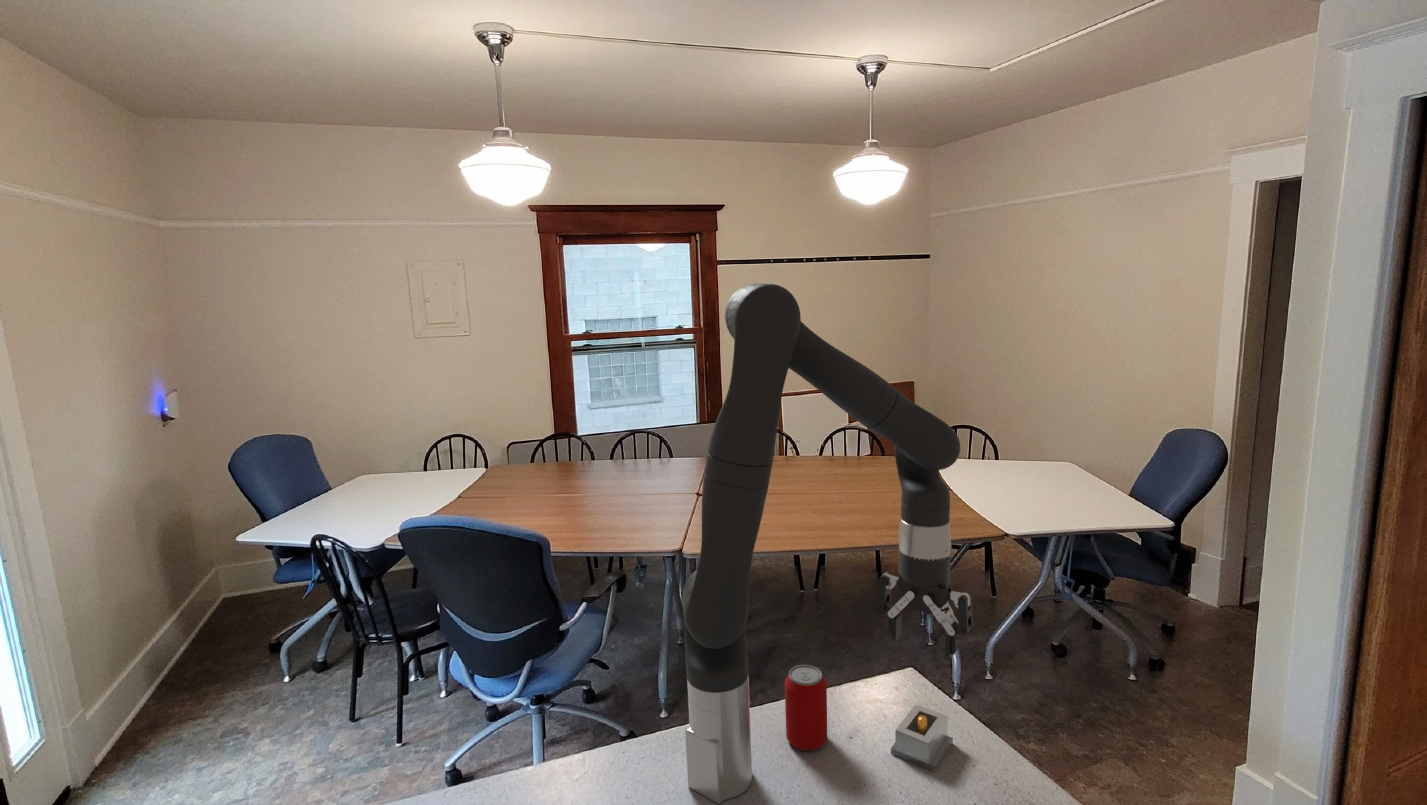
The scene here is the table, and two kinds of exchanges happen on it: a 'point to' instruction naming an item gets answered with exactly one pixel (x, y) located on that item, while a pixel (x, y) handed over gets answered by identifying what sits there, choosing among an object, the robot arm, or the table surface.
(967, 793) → the table surface
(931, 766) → the grey peg base
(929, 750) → the silver frame
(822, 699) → the beverage can
